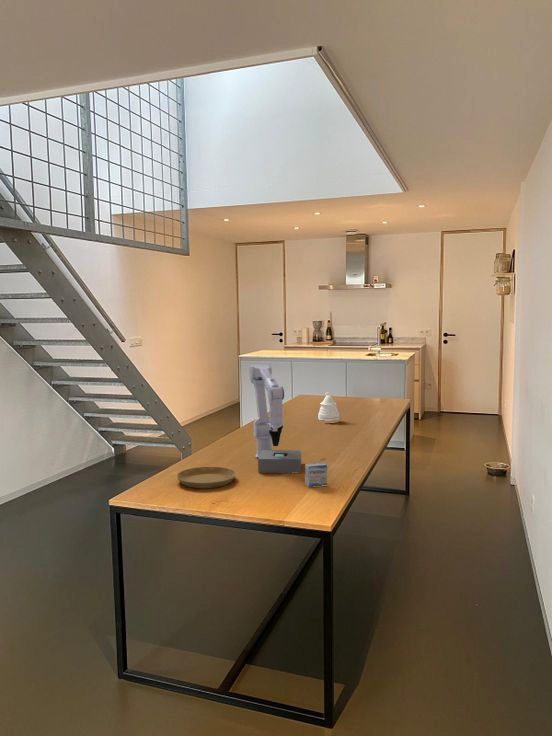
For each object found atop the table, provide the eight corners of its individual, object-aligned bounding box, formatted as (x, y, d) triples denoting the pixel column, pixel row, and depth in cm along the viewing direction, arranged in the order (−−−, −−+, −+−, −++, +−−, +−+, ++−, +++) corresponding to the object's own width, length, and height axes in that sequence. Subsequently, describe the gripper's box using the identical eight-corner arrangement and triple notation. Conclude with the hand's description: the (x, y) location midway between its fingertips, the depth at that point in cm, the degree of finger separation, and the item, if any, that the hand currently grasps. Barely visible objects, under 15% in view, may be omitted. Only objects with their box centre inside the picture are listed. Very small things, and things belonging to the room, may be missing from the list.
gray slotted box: (261, 462, 264) (261, 449, 263) (301, 463, 263) (301, 450, 262) (258, 472, 248) (258, 458, 248) (299, 473, 247) (299, 459, 246)
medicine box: (308, 488, 226) (308, 466, 225) (304, 484, 230) (304, 463, 230) (327, 486, 228) (327, 464, 227) (323, 483, 233) (323, 462, 232)
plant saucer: (207, 470, 254) (207, 462, 253) (248, 480, 238) (247, 472, 238) (164, 483, 235) (164, 475, 235) (205, 495, 220) (205, 486, 220)
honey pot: (314, 421, 360) (314, 392, 358) (332, 419, 365) (332, 391, 363) (324, 424, 348) (324, 395, 346) (342, 422, 354) (343, 393, 352)
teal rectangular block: (275, 465, 258) (275, 454, 257) (284, 465, 257) (284, 454, 257) (274, 467, 254) (274, 456, 253) (283, 467, 253) (283, 456, 253)
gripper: (268, 410, 263) (268, 439, 264) (265, 417, 248) (265, 447, 250) (283, 410, 262) (284, 440, 264) (281, 417, 248) (282, 447, 249)
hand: (276, 443), depth 257 cm, fingers open, 7 cm apart
